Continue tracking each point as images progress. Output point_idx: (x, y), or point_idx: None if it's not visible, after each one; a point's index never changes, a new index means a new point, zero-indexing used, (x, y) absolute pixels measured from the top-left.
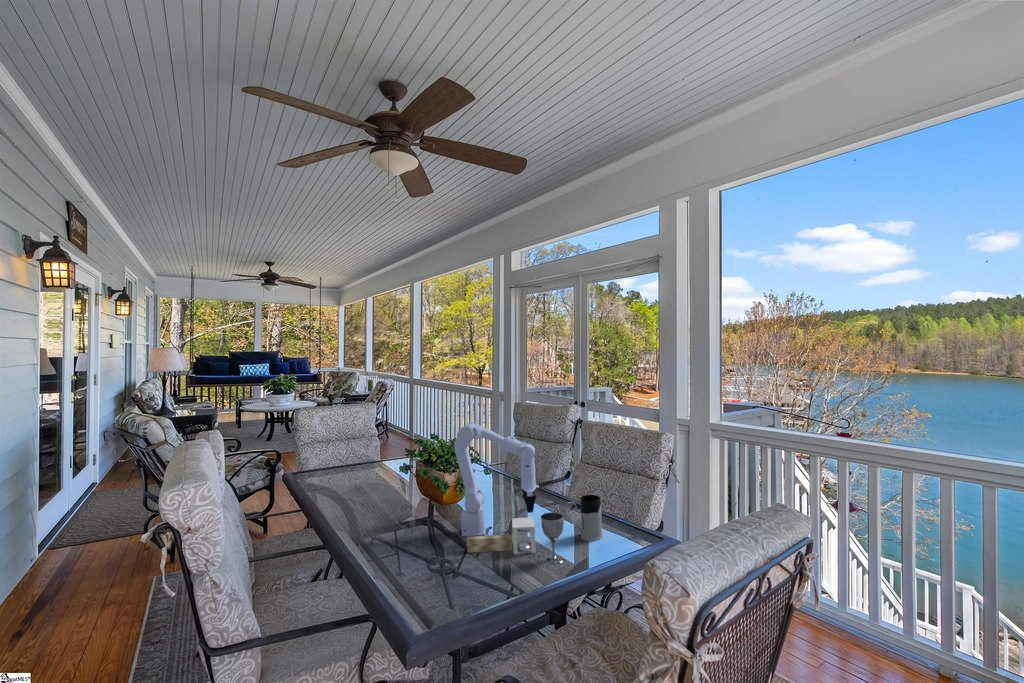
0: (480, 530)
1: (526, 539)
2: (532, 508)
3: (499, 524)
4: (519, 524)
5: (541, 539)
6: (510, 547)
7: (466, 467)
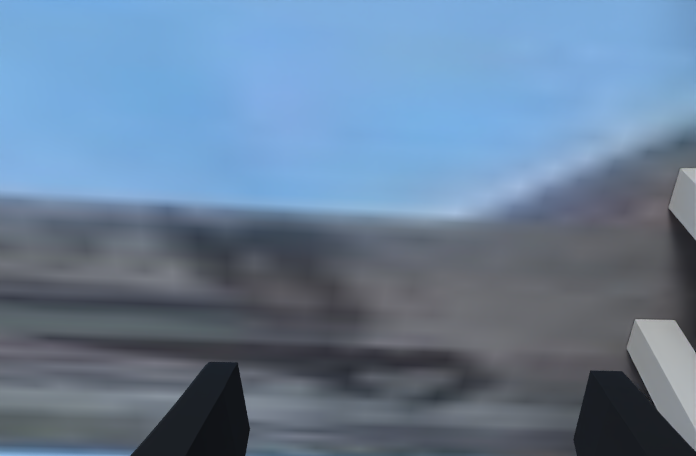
0: None
1: (567, 237)
2: (667, 442)
3: None
4: None
5: (623, 79)
6: None
7: None
